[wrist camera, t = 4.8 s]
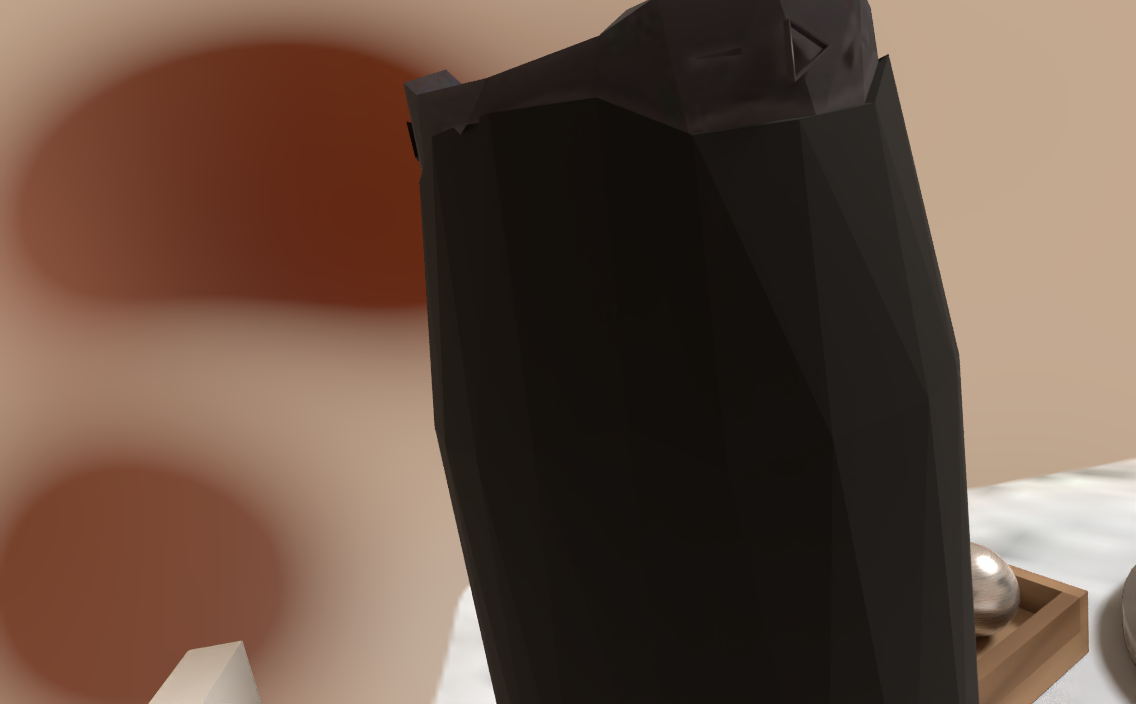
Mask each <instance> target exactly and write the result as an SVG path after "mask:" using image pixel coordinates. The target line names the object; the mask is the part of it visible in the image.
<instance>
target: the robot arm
mask: <svg viewBox="0 0 1136 704" xmlns="http://www.w3.org/2000/svg"><path fill="white" fill-rule="evenodd" d="M149 704H261V701H260V698H259V694H258V691H257V688H256V684H255V681H254V678H253V674H252V671H251V668H250V665H249V661H248V658H247V655H246V652H245V648H244V645H243V642H242V641H238V642H232V643H227V644H221V645H215V646H210V647H205V648H199V649H193V650H189V651H188V652H187V653H186V655H185V656H184V657H183V659H182V660H181V661H180V663H179V664H178V666H177V667H176V668H175V669H174V671H173V672H172V673H171V675H170V676H169V677H168V679H167V680H166V681H165V683H164V684H163V685H162V687H161V688H160V689H159V691H158V692H157V693H156V695H155V696H154V697H153V699H152V700H151V701H150V703H149Z"/></svg>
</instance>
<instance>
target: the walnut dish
mask: <svg viewBox="0 0 1136 704" xmlns="http://www.w3.org/2000/svg"><path fill="white" fill-rule="evenodd" d="M1009 566H1010V568H1011V569H1012V571H1013V573H1014V575H1015V577H1016V579H1017V582H1018V585H1019V590H1020V603H1019V607H1018V610H1017V613H1016V615H1015V617H1014V618H1013V620H1012V621H1011V623H1010V624H1008V625H1007V626H1006V627H1005V628H1004V629H1003V630H1001V631H999V632H998V633H995V634H993V635H990V636H986V637H978V638H976V654H977V672H978V689H979V704H1032V703H1033V702H1034V701H1035V700H1036V699H1037V698H1038V697H1039V696H1041V695H1042V694H1043V693H1044V692H1045V691H1046V690H1047V689H1048V688H1049V687H1050V686H1052V685H1053V684H1054V683H1055V682H1056V681H1057V680H1058V679H1059V678H1060V677H1061V676H1063V675H1064V674H1065V673H1066V672H1067V671H1068V670H1069V669H1070V668H1071V667H1072V666H1073V665H1075V664H1076V663H1077V662H1078V661H1079V660H1080V659H1081V658H1082V657H1083V656H1084V655H1086V654H1087V653H1088V652H1089V632H1088V591H1086V590H1083V589H1080V588H1077V587H1074V586H1071V585H1068V584H1065V583H1062V582H1059V581H1056V580H1053V579H1050V578H1047V577H1044V576H1041V575H1038V574H1035V573H1032V572H1029V571H1026V570H1023V569H1020V568H1017V567H1014V566H1011V565H1009Z"/></svg>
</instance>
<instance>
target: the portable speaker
mask: <svg viewBox="0 0 1136 704" xmlns="http://www.w3.org/2000/svg"><path fill="white" fill-rule="evenodd" d="M404 88H405V93H406V98H407V103H408V108H409V113H410V117H411V122H412V123H410V122H407V126H408V130H409V134H410V138H411V142H412V146H413V150H414V154H415V157H416V159H417V160H418V161H420V166H421V171H422V175H421V178H420V198H421V214H422V230H423V245H424V262H425V277H426V278H425V279H426V295H427V311H428V327H429V343H430V359H431V374H432V375H431V376H432V391H433V408H434V423H435V430H436V434H437V438H438V443H439V448H440V452H441V457H442V461H443V466H444V470H445V474H446V479H447V484H448V488H449V493H450V497H451V501H452V506H453V511H454V515H455V519H456V524H457V528H458V533H459V537H460V542H461V546H462V550H463V555H464V560H465V564H466V569H467V573H468V577H469V582H470V587H471V591H472V596H473V600H474V605H475V609H476V614H477V618H478V623H479V627H480V631H481V636H482V640H483V645H484V649H485V654H486V658H487V663H488V667H489V672H490V676H491V681H492V685H493V690H494V694H495V699H496V703H497V704H979V689H978V672H977V654H976V637H975V620H974V602H973V585H972V568H971V550H970V533H969V516H968V498H967V481H966V464H965V448H964V430H963V412H962V395H961V377H960V360H959V352H958V348H957V343H956V339H955V335H954V331H953V326H952V322H951V318H950V314H949V309H948V306H947V301H946V297H945V292H944V288H943V284H942V280H941V275H940V271H939V267H938V263H937V258H936V254H935V250H934V246H933V241H932V237H931V233H930V229H929V225H928V220H927V216H926V212H925V207H924V203H923V199H922V195H921V190H920V186H919V182H918V178H917V174H916V169H915V165H914V161H913V156H912V152H911V148H910V143H909V139H908V135H907V131H906V127H905V122H904V118H903V114H902V110H901V105H900V101H899V97H898V93H897V88H896V84H895V80H894V75H893V71H892V67H891V63H890V59H889V54H888V55H886V56H884V57H882V58H880V59H878V55H877V48H876V42H875V34H874V27H873V20H872V13H871V8H870V5H869V3H868V1H867V0H647V1H645V2H643V3H641V4H639V5H636V6H634V7H632V8H630V9H628V10H626V11H625V12H624V13H623V14H622V15H621V16H620V17H618V18H617V19H616V20H615V21H614V22H613V23H612V24H611V25H610V26H609V27H608V28H607V29H606V30H604V31H603V32H602V33H601V34H600V35H599V36H597V37H594V38H591V39H589V40H586V41H584V42H581V43H578V44H576V45H573V46H570V47H568V48H565V49H563V50H560V51H557V52H554V53H552V54H549V55H547V56H544V57H541V58H539V59H536V60H533V61H531V62H528V63H526V64H523V65H520V66H518V67H515V68H512V69H509V70H507V71H504V72H502V73H499V74H496V75H494V76H491V77H488V78H485V79H482V80H477V81H473V82H468V83H465V84H461V83H460V82H459V81H458V80H456V78H454V77H453V76H452V75H451V74H450V73H449V72H448V71H447V70H443V71H440V72H437V73H434V74H431V75H428V76H425V77H421V78H418V79H415V80H412V81H409V82H406V83H404Z"/></svg>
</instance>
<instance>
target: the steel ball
mask: <svg viewBox="0 0 1136 704" xmlns="http://www.w3.org/2000/svg"><path fill="white" fill-rule="evenodd" d="M970 550H971V568H972V585H973V602H974V620H975V637H976V638H978V637H986V636H990V635H993V634H995V633H998V632H999V631H1001V630H1003V629H1004V628H1005V627H1006V626H1007V625H1008V624H1010V623H1011V621H1012V620H1013V618H1014V617H1015V615H1016V613H1017V610H1018V607H1019V603H1020V590H1019V585H1018V582H1017V579H1016V577H1015V575H1014V573H1013V571H1012V569H1011V568H1010V566H1009V565H1008V564H1007V563H1006V562H1005V560H1004V559H1003V558H1002V557H1000V556H999V555H998V554H997V553H995V552H994V551H992V550H990V549H989V548H987V547H985V546H982V545H979V544H976V543H972V542H970Z"/></svg>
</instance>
